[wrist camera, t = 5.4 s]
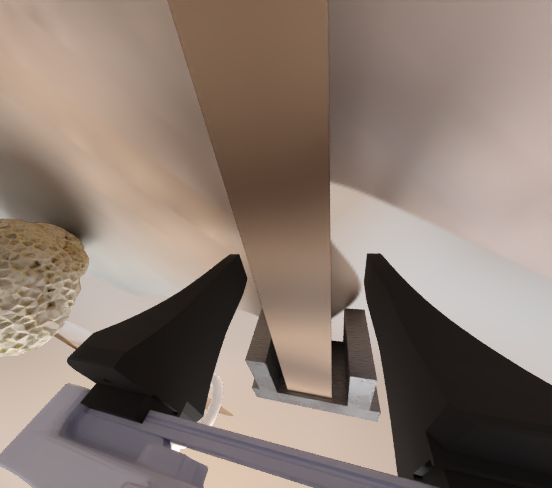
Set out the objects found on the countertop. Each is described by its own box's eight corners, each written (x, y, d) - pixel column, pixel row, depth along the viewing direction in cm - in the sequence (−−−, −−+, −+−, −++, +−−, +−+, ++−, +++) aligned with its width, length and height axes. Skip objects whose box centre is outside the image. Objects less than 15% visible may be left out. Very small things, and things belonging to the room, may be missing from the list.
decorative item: (87, 184, 14) (-220, 285, 6) (153, 273, 19) (26, 395, 11) (-1, 203, 18) (-268, 284, 10) (73, 274, 22) (-67, 367, 14)
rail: (330, 337, 19) (331, 398, 15) (295, 333, 20) (287, 389, 16) (327, 3, 7) (327, -127, 3) (240, 32, 8) (154, -40, 4)
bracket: (374, 310, 15) (391, 382, 11) (366, 355, 19) (377, 421, 15) (255, 302, 18) (235, 358, 14) (270, 343, 22) (257, 396, 18)
